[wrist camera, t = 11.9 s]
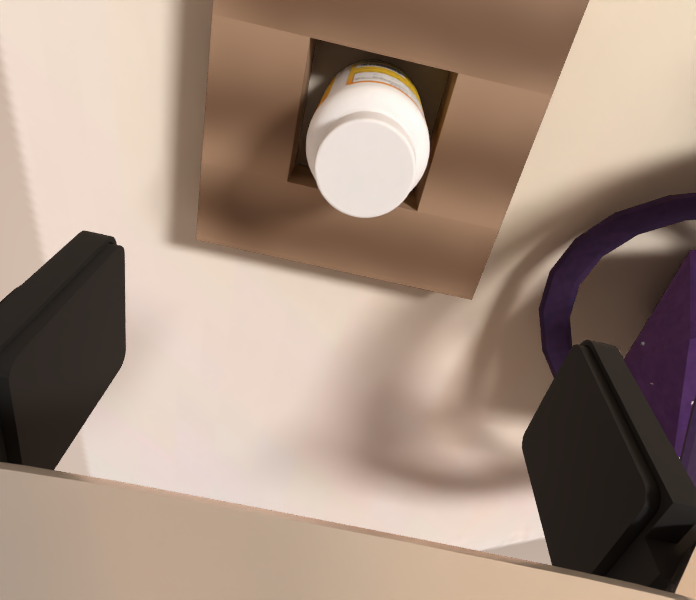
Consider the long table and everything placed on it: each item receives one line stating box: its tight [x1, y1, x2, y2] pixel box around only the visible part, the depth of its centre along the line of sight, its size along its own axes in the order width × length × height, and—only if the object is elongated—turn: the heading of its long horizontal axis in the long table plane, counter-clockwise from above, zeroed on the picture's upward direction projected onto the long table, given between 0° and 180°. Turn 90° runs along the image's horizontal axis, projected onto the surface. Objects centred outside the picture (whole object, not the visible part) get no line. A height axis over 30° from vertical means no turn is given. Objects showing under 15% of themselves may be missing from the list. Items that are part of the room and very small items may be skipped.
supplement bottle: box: [306, 60, 430, 218], centre depth 25 cm, size 5×5×10 cm
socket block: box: [196, 0, 589, 300], centre depth 28 cm, size 16×16×3 cm
